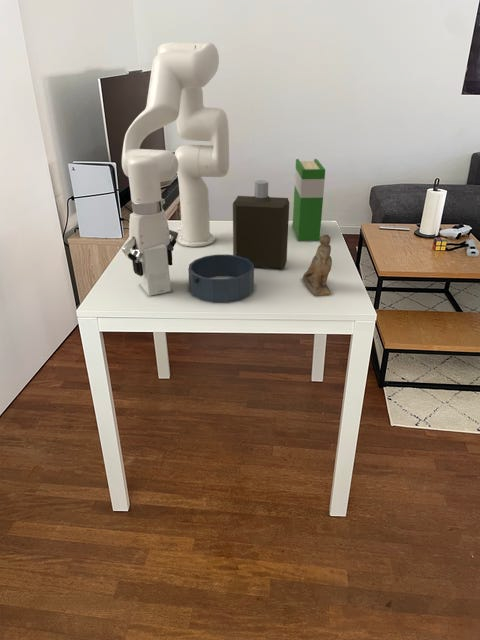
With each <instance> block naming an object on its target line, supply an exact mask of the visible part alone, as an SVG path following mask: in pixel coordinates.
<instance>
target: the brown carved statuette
mask: <svg viewBox="0 0 480 640" xmlns="http://www.w3.org/2000/svg"><path fill="white" fill-rule="evenodd" d="M330 243H331V236H330V235H329V234H323V235H322V236H320V241H319V245H318V246H317V249H316V252H315V255H314V256H313V257H312V260H311V262H310V264H309V267H308V268H307V270H306V271H305V272H304V273H303V275H302V282H303V283H304V284H305V287H306V288H307V289H308V290H309V291H310V292H311V294H312V295H313V296H315V297H321V296H331V289H330V287H329V286H328V285H327V282H328V277H329V275H330V272H331V270H332V266H333V259H332V256H331V252H332V247H331V244H330Z"/></svg>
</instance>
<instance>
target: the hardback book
mask: <svg viewBox="0 0 480 640" xmlns="http://www.w3.org/2000/svg"><path fill="white" fill-rule="evenodd" d="M294 170H295V171H294V172H295V173H294V189H293V190H294V191H293V209H292V228H293V231H294V234H295V236H296V239H297V241H298V242H320V238H321V228H322V219H323V218H322V217H323V205H324V204H323V203H324V194H325V193H324V191H325V180H326V168H325V167H324V166H323V165H322V164H321V162H320V161H319V160H318V159H317V158H313V160H312V161H311V160H308V161H304V160H303V161H301V160H300V159H299V158H296V159H295V169H294Z"/></svg>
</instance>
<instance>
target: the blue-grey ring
mask: <svg viewBox="0 0 480 640" xmlns="http://www.w3.org/2000/svg"><path fill="white" fill-rule="evenodd" d="M187 269H188V285H189V292H190V294H191V295H192V297H194V298H196V299H198V300H200V301H203V302H210V303H214V304H217V303H219V304H221V303H222V304H226V303H232V302H237V301H241V300H244V299H246V298H248V297H250V296H251V295H252V294H253V293H254V290H255V268H254V264H253V263H252V262H251V261H250V260H249V259H248V258H243V257H240V256H235V255H233V254H228V253H227V254H211V255H205V256H202V257H199V258H197V259H194V260H193V261H192V262H190V263H189V264H188V268H187ZM217 277H229V278H217Z"/></svg>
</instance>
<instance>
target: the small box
mask: <svg viewBox="0 0 480 640" xmlns="http://www.w3.org/2000/svg"><path fill="white" fill-rule="evenodd" d="M137 254H138V253H137ZM140 261H141V262H142V267H143V276H139V281H140V286H141V288H142V289H143V290H144V291H145V293H146V294H147V295H148V296H150V297H151V296H156V295H160V294H166V293H170V292H171V290H172V289H171V280H170V269H169V267H170V265H168V255H167V247H166V246H165V245H164V244H161V245H158V246H154V247H151V248H148V249H145V250H143V255H142V257H141V259H140Z"/></svg>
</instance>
